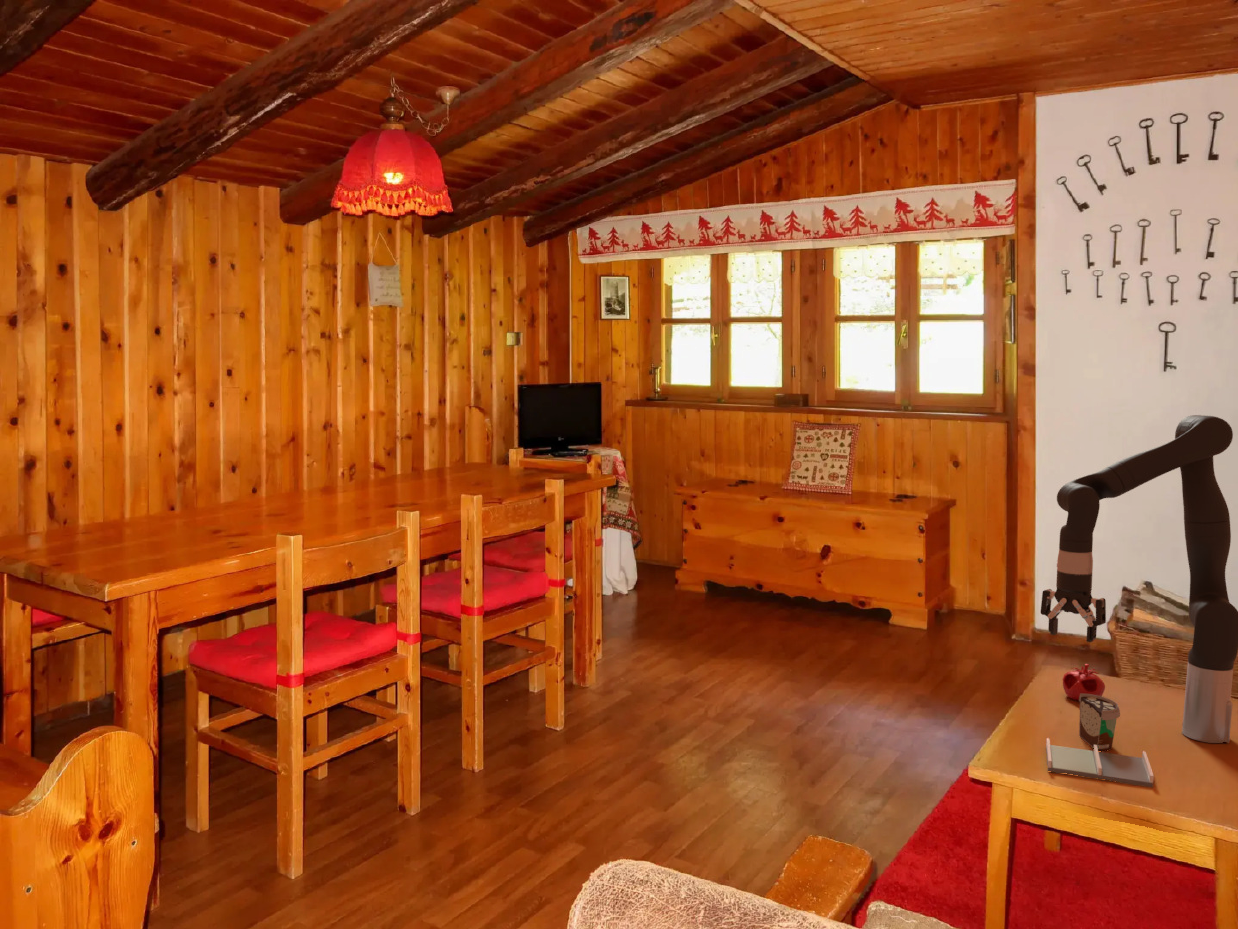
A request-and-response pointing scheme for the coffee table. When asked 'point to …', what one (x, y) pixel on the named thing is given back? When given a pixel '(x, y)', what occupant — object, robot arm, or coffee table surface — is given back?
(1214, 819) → the coffee table surface
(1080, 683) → the pomegranate
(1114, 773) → the sorting board
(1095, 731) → the food container
